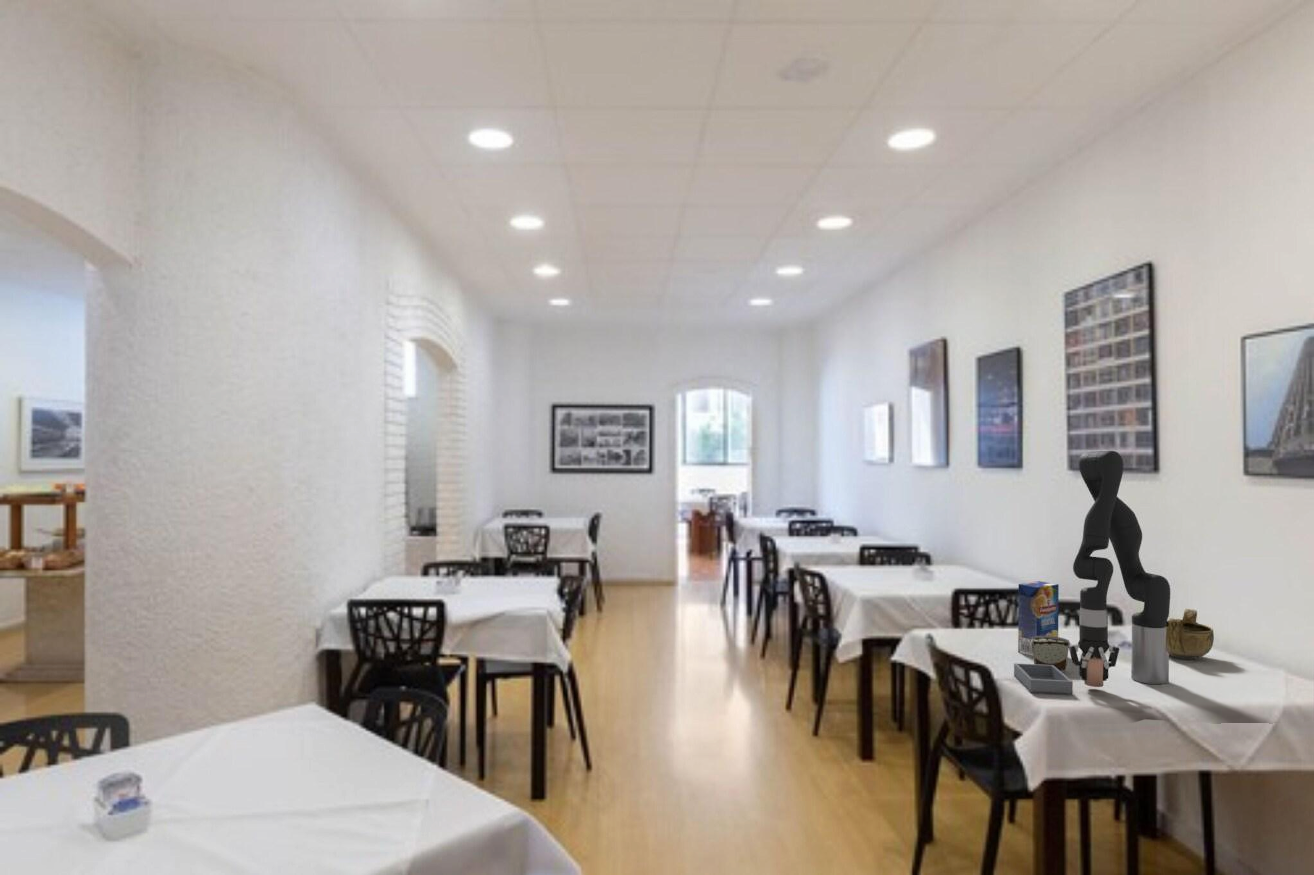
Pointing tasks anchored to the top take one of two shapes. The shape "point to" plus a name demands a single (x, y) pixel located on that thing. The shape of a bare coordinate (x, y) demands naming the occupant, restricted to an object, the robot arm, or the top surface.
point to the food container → (1050, 651)
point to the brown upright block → (1094, 672)
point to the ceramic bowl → (1188, 637)
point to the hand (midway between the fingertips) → (1093, 679)
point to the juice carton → (1036, 613)
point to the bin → (1043, 679)
